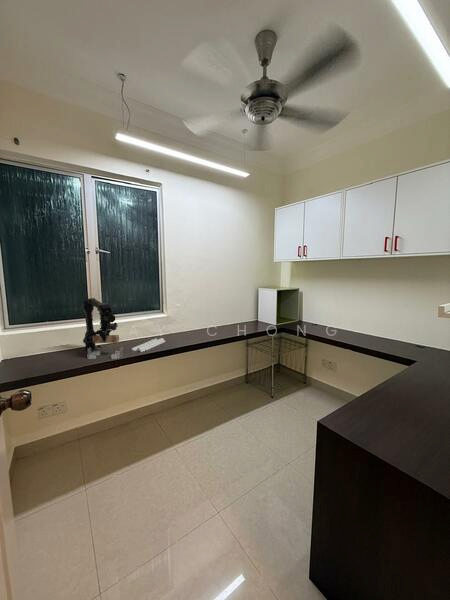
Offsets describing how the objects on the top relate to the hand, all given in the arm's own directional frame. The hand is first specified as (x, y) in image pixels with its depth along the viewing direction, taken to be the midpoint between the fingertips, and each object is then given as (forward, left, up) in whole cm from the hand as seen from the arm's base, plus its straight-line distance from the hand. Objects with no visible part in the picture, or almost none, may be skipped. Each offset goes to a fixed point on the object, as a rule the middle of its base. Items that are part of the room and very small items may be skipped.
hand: (106, 340), depth 189 cm
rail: (0, 0, -1) cm, 1 cm away
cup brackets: (0, -1, -12) cm, 12 cm away
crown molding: (+26, +25, -13) cm, 38 cm away
